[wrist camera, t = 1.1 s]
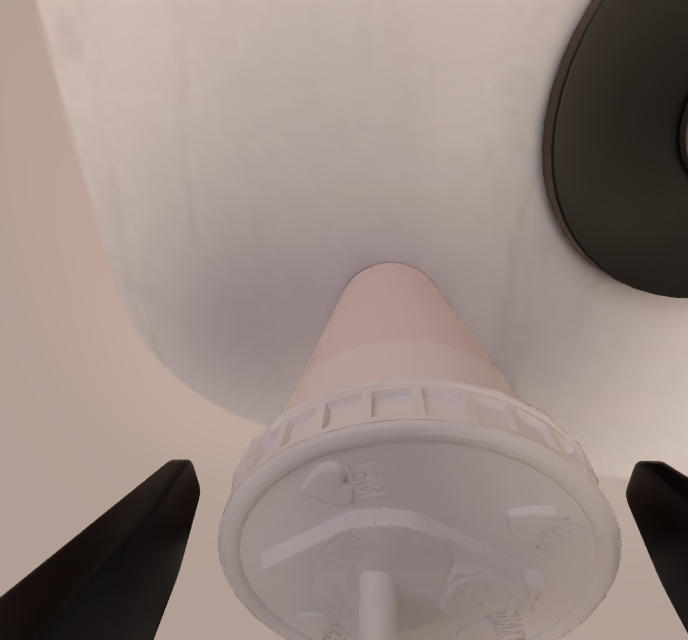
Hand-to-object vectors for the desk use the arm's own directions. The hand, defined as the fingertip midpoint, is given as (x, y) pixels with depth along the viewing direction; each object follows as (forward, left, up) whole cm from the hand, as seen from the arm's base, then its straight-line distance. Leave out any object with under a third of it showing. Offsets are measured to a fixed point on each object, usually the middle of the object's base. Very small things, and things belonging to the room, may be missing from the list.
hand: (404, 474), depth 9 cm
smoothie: (0, 0, -8) cm, 8 cm away
